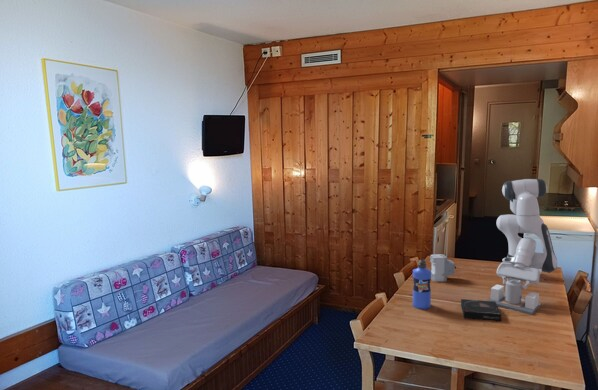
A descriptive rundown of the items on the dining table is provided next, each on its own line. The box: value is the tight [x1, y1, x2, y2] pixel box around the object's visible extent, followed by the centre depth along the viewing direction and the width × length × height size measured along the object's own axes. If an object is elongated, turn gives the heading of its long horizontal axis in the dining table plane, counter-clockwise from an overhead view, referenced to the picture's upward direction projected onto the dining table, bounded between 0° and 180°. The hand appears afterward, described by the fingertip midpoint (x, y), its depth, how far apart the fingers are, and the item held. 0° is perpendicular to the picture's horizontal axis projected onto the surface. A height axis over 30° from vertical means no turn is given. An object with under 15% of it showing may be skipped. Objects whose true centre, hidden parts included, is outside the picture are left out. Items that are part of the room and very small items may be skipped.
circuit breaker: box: [429, 253, 457, 283], centre depth 259 cm, size 8×14×15 cm, turn 89°
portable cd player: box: [460, 298, 502, 322], centre depth 209 cm, size 16×17×4 cm
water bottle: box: [412, 258, 432, 310], centre depth 218 cm, size 9×9×25 cm
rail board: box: [486, 284, 542, 316], centre depth 218 cm, size 15×22×7 cm
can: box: [504, 278, 523, 304], centre depth 217 cm, size 8×8×12 cm
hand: (513, 286), depth 217 cm, fingers open, 8 cm apart
